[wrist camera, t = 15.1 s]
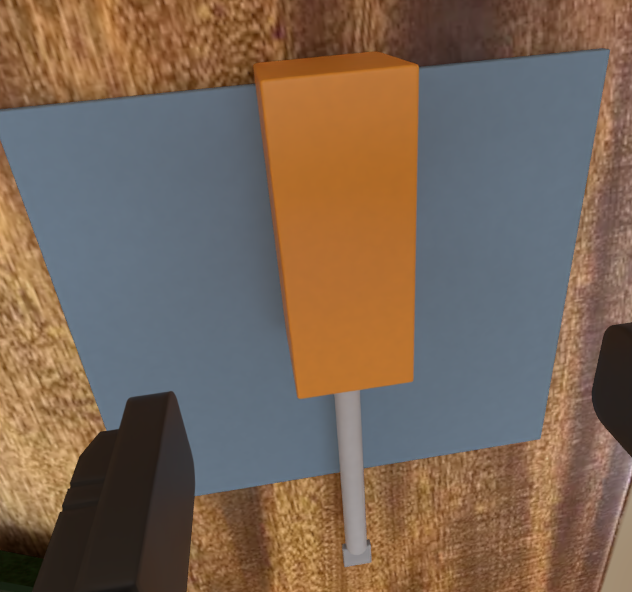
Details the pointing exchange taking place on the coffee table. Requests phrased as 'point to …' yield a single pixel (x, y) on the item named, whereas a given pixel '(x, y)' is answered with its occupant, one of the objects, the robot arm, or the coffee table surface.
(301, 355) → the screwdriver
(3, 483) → the coffee table surface
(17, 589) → the clover-shaped pad
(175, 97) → the mat
